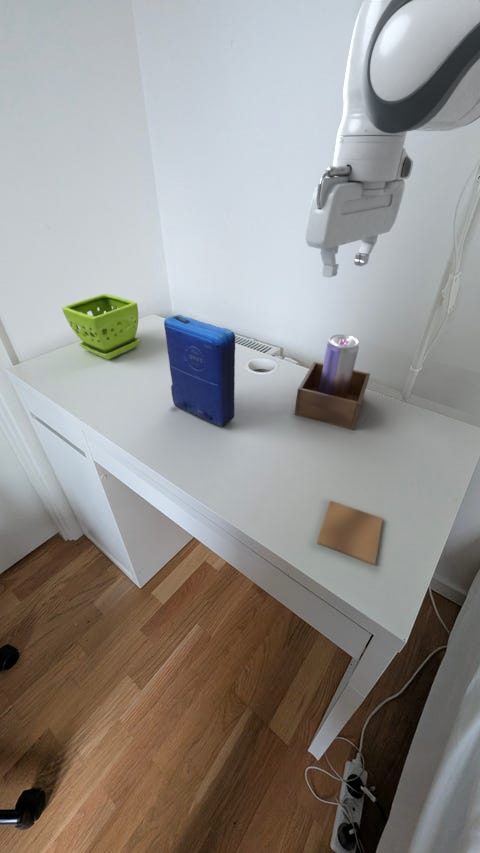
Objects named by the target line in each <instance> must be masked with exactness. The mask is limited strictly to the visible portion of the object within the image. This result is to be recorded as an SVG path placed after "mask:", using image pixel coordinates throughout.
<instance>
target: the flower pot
mask: <svg viewBox="0 0 480 853" xmlns="http://www.w3.org/2000/svg"><path fill="white" fill-rule="evenodd" d="M138 306H139V305H138V303H137V302H136V301H133V300H130V299H126V298H123V297H120V296H115V295H112V294H108V293H102V294H98V295H96V296H92V297H88V298H86V299H82V300H80V301H79V300H78V301H76V302H72V303H70V304H68V305H64V306H62V307H61V309H62V312H63V314H64V317H65V319H66V321H67V323H68V324H69V326H70V328H71V330H72V331H73V332H74V334H75V335H76V336H77V337H78V339H79V340H81V341H82V342H80V343H79V344H78V345H79V347H81V348H82V349H84V350H86V351H88V352H90V353H92V354H93V355H96V356H99V357H101V358H103V359H106V360H111V359H113V358H115V357H117V356H120V355H122V354H124V353H126V352H128V351H130V350H133V349H135V348H137V347H138V346H139V344H140V343H141V339H140V338H138V337H136V335H137V332H138V328H139V327H138V326H139V307H138ZM88 312H91V314H92V315H91V314H88Z"/></svg>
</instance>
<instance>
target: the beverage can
mask: <svg viewBox="0 0 480 853" xmlns="http://www.w3.org/2000/svg"><path fill="white" fill-rule="evenodd" d="M359 344H360V341H359V339H358V338H357V337H354V336H352V335H349V334H340V333H339V334H334V335H331V336H330V337H328V341H327V343H326V347H325V354H324V359H323V363H322V364H323V369H322V375H321V380H320V386H319V391H318V392H320V393H324V394H329V395H333V396H337V397H341V398H345V399H346V398H347V394H348V390H349V386H350V382H351V378H352V374H353V370H355V365H356V362H357V357H358V353H359V350H360V349H359V348H360V346H359Z"/></svg>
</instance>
